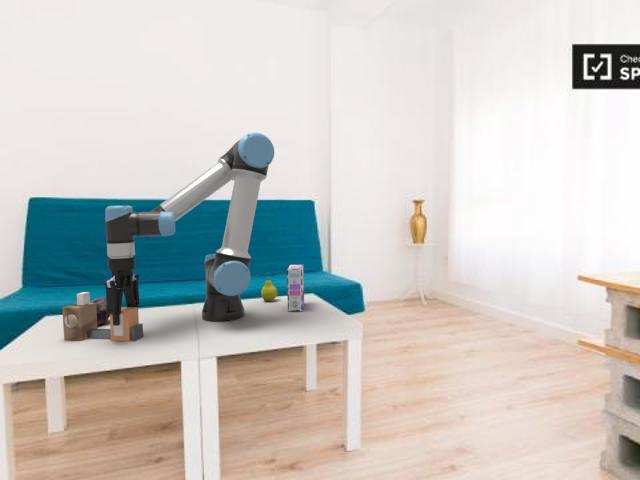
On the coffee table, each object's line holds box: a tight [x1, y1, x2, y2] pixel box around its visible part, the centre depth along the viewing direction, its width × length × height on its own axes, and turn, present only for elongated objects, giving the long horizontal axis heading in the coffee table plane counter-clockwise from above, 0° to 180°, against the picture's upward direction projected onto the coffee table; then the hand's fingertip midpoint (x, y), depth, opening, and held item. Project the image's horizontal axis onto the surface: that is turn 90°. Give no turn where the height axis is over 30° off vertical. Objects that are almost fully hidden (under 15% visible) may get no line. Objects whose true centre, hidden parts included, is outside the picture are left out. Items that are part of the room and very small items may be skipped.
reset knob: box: [76, 291, 91, 305], centre depth 128 cm, size 2×3×4 cm, turn 171°
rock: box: [90, 296, 110, 327], centre depth 144 cm, size 12×9×10 cm
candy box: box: [286, 264, 305, 312], centre depth 162 cm, size 14×6×16 cm, turn 179°
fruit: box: [260, 273, 278, 302], centre depth 176 cm, size 7×7×12 cm
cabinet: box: [62, 302, 99, 342], centre depth 128 cm, size 6×8×10 cm
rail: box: [87, 323, 144, 342], centre depth 127 cm, size 18×4×4 cm, turn 81°
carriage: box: [109, 306, 140, 342], centre depth 126 cm, size 6×5×9 cm
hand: (125, 332), depth 126 cm, fingers closed on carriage, 5 cm apart
